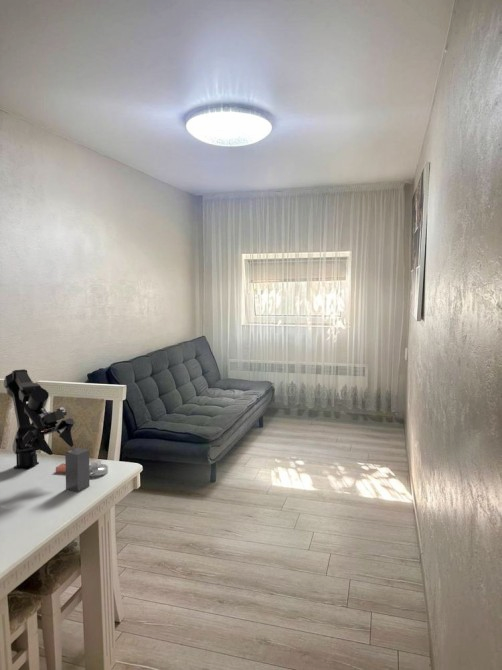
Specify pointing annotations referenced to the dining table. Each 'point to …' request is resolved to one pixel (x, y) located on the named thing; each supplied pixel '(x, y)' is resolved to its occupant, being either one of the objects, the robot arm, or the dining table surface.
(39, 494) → the dining table surface
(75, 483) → the tall grey pillar
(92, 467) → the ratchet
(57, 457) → the dining table surface
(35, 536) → the dining table surface
